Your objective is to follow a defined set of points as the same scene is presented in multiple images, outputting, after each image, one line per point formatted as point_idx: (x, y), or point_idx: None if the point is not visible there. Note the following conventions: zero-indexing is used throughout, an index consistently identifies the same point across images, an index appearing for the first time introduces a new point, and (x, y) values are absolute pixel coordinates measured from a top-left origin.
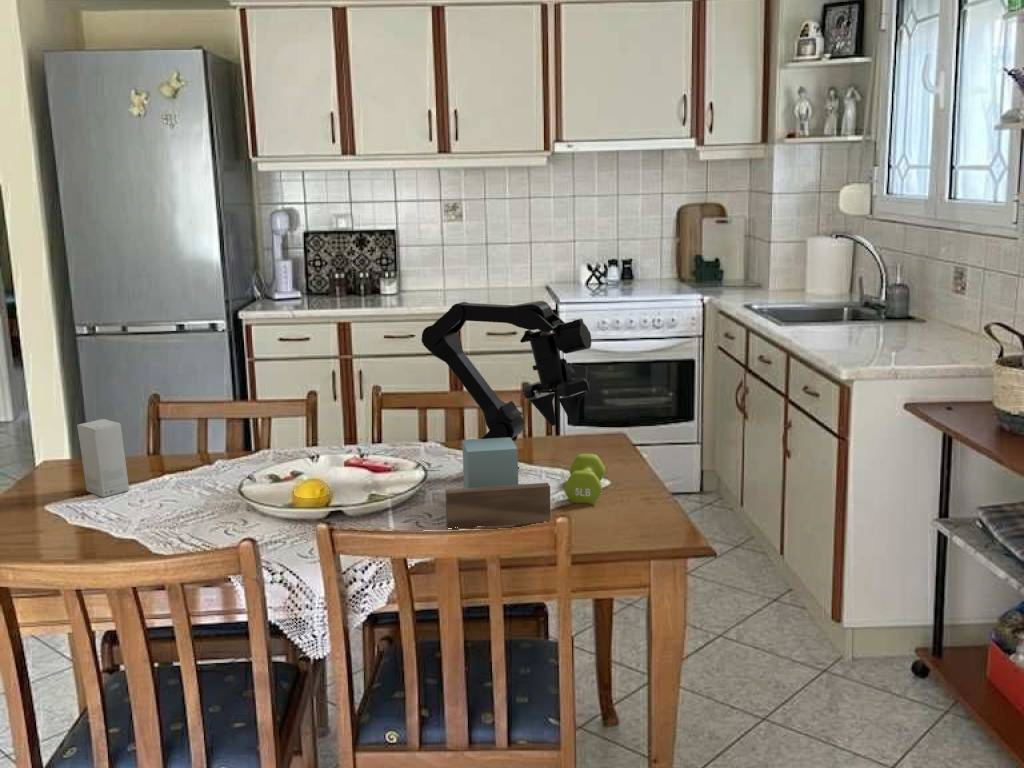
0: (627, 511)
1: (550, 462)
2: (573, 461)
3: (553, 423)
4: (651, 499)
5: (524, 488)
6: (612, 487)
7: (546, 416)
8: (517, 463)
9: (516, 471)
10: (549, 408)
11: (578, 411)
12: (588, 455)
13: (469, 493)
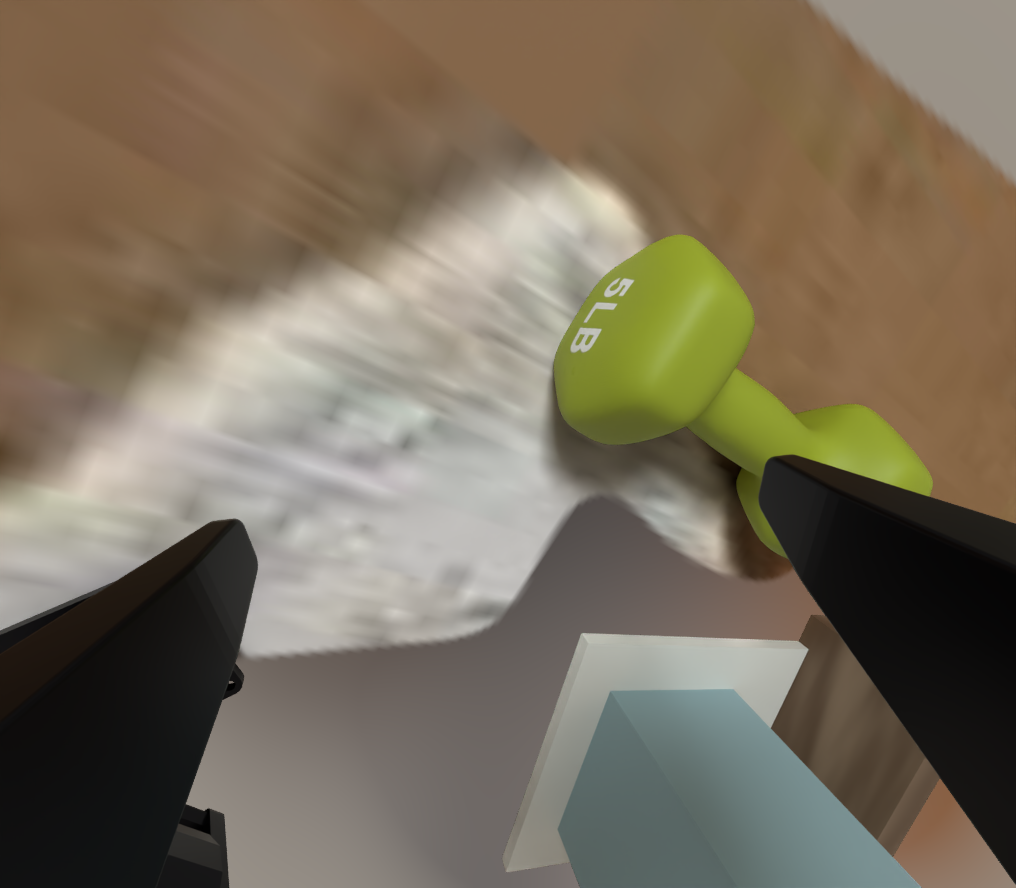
0: (902, 347)
1: (15, 315)
2: (618, 426)
3: (242, 559)
4: (886, 170)
5: (932, 788)
6: (681, 231)
7: (209, 735)
8: (897, 865)
9: (859, 830)
10: (68, 806)
11: (1009, 529)
12: (722, 359)
13: None
